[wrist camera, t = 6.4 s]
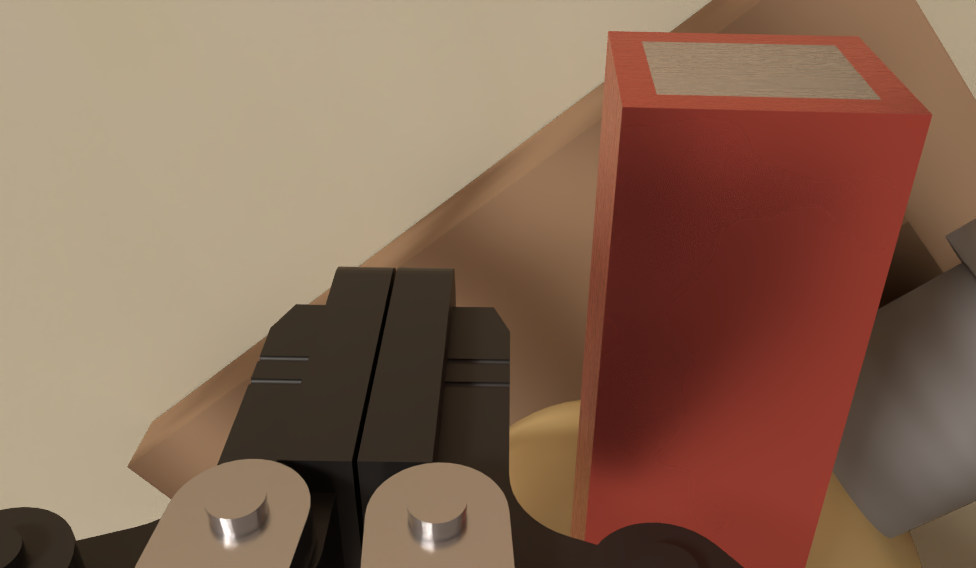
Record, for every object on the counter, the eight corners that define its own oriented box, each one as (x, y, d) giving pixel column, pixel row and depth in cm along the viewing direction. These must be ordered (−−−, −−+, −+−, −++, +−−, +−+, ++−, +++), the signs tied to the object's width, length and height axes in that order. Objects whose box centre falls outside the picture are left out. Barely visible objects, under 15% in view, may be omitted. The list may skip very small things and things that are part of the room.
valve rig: (445, 648, 34) (400, 1065, 24) (152, 422, 29) (-75, 829, 18) (1097, 323, 25) (1494, 769, 14) (841, -97, 20) (1176, 126, 9)
